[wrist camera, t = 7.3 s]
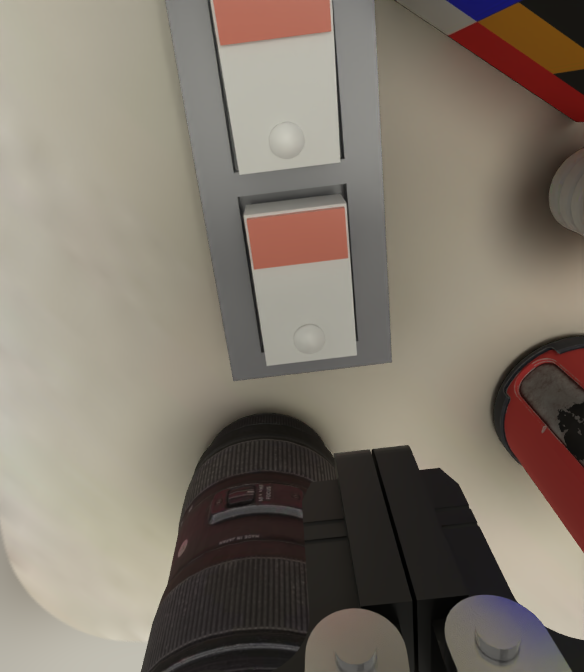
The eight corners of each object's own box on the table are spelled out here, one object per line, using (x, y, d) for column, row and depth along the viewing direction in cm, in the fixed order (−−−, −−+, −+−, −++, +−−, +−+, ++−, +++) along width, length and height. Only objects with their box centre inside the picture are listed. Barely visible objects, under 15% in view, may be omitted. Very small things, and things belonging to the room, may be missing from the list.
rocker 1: (209, -32, 17) (204, -30, 15) (323, -47, 17) (330, -46, 15) (240, 158, 20) (239, 177, 19) (334, 147, 20) (341, 164, 18)
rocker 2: (245, 205, 20) (243, 217, 18) (340, 193, 20) (347, 204, 18) (267, 345, 23) (266, 369, 21) (350, 336, 23) (357, 358, 21)
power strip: (110, -397, 16) (73, -509, 13) (334, -429, 16) (347, -549, 13) (238, 351, 26) (233, 380, 23) (378, 334, 26) (391, 362, 23)
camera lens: (164, 479, 29) (63, 808, 15) (249, 372, 27) (222, 647, 13) (281, 545, 31) (286, 888, 17) (370, 452, 29) (459, 762, 15)
